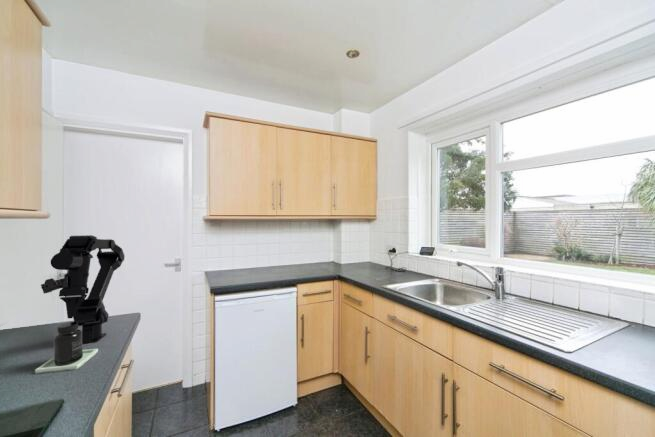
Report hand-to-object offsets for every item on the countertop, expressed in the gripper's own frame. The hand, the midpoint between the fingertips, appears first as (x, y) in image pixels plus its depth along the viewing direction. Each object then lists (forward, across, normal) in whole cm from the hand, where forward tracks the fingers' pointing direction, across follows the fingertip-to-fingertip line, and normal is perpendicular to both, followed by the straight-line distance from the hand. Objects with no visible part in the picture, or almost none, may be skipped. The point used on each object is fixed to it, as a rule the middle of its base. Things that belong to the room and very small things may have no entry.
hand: (71, 316), depth 92 cm
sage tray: (+14, +2, +1) cm, 14 cm away
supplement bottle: (+14, +2, +1) cm, 14 cm away
